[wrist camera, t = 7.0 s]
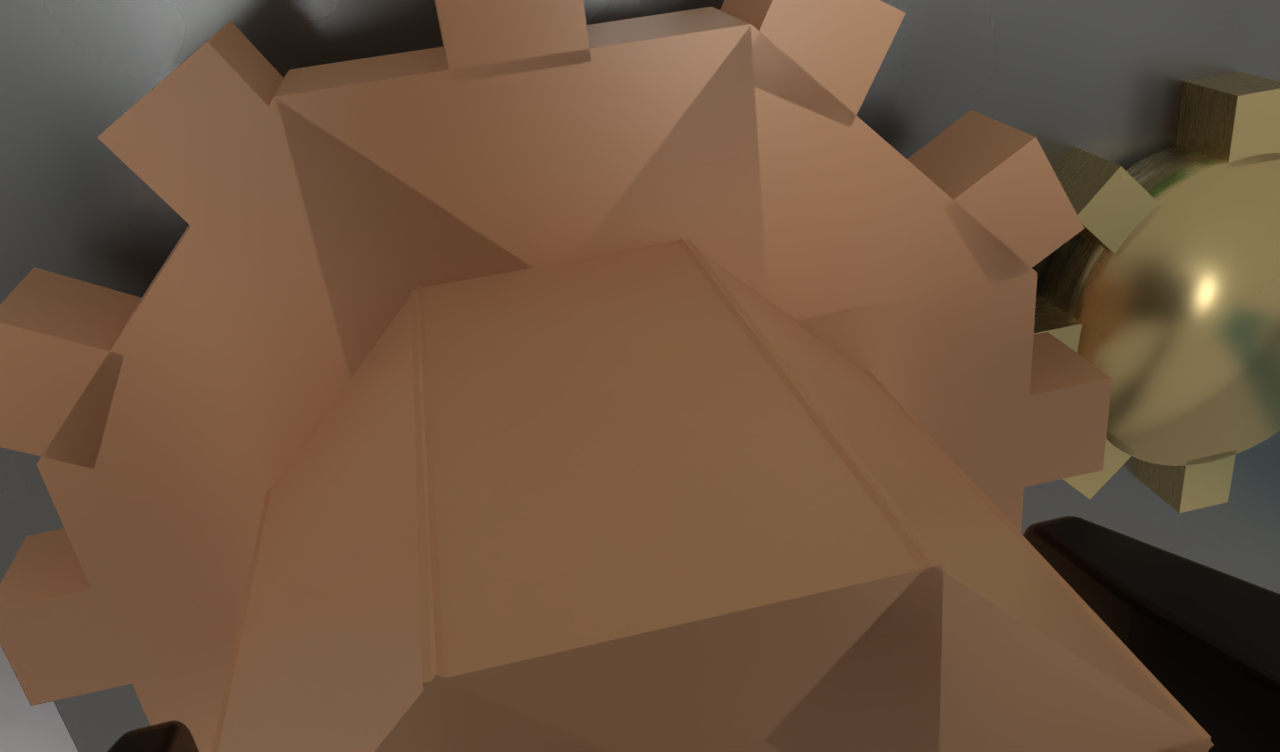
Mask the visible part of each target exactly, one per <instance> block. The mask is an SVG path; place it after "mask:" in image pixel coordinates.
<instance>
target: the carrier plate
mask: <svg viewBox="0 0 1280 752" xmlns="http://www.w3.org/2000/svg"><path fill="white" fill-rule="evenodd" d="M583 1H584V9H585V17H586V24H587V25H591V24H598V23H605V22H611V21H618V20H625V19H631V18H638V17H645V16H652V15H658V14H665V13H672V12H678V11H685V10H692V9H698V8H705V7H714V8H716V9H718V10H720V9H721V7H722V5H723V2H724V0H583ZM880 1H882V2H884V3H886V4H888V5H890V6H893V7H895V8H897V9H899V10H901V11H903V12H905V13H906V14H905V16H904V18H903V20H902V22H901V24H900V26H899V28H898V31H897V33H896V35H895V37H894V39H893V41H892V43H891V45H890V47H889V49H888V51H887V53H886V55H885V57H884V59H883V61H882V64H881V66H880V68H879V70H878V72H877V74H876V76H875V78H874V80H873V82H872V84H871V86H870V88H869V90H868V92H867V94H866V97H865V99H864V101H863V103H862V105H861V107H860V109H859V111H858V113H857V115H856V116H858V117H859V118H860V119H861V120H862V121H863V122H865V123H866V124H867V125H868V126H869V127H870V128H871V129H873V130H874V131H875V132H876V133H877V134H878V135H879V136H881V137H882V138H883V139H884V140H885V141H886V142H888V143H889V144H890V145H891V146H892V147H893V148H894V149H896V150H897V151H898V152H899V153H900V154H901V155H902V156H904V157H905V158H906V159H908V158H909V157H910V156H912V155H913V154H914V153H916V152H917V151H918V150H919V149H921V148H922V147H923V146H925V145H926V144H927V143H928V142H930V141H931V140H932V139H934V138H935V137H936V136H938V135H939V134H940V133H941V132H943V131H944V130H945V129H947V128H948V127H949V126H950V125H952V124H953V123H954V122H956V121H957V120H958V119H960V118H961V117H962V116H963V115H965V114H966V113H967V112H969V111H970V110H973V111H976V112H978V113H980V114H983V115H985V116H987V117H990V118H992V119H994V120H997V121H999V122H1002V123H1004V124H1006V125H1009V126H1011V127H1013V128H1016V129H1018V130H1020V131H1023V132H1025V133H1027V134H1030V135H1032V136H1035V137H1036V138H1037V140H1038V142H1039V144H1040V146H1041V148H1042V149H1043V151H1044V153H1045V155H1046V157H1047V159H1048V161H1049V163H1050V164H1051V166H1052V168H1053V170H1054V172H1055V174H1056V176H1057V178H1058V180H1059V181H1060V183H1061V185H1062V187H1063V189H1064V191H1065V193H1066V195H1067V196H1068V198H1069V200H1070V202H1071V204H1072V206H1073V208H1074V210H1075V212H1076V213H1077V215H1078V217H1079V219H1080V221H1081V223H1082V225H1083V227H1084V228H1085V229H1083V230H1082V231H1081V232H1079V233H1078V234H1077V235H1075V236H1074V237H1072V238H1071V239H1070V240H1068V241H1067V242H1066V243H1064V244H1063V245H1062V246H1060V247H1059V248H1058V249H1056V250H1055V251H1054V252H1052V253H1051V254H1050V255H1048V256H1047V257H1046V258H1044V259H1043V260H1042V261H1040V262H1039V263H1038V264H1036V265H1035V266H1034V267H1032V269H1034V270H1035V271H1036V272H1037V289H1036V305H1035V321H1034V335H1035V334H1040V333H1045V332H1049V333H1050V334H1051V335H1053V336H1054V337H1056V338H1057V339H1058V340H1060V341H1061V342H1063V343H1064V344H1065V345H1067V346H1068V347H1070V348H1071V349H1072V350H1074V351H1075V352H1077V353H1078V354H1079V355H1081V356H1082V357H1084V358H1085V359H1086V360H1088V361H1089V362H1091V363H1092V364H1093V365H1095V366H1096V367H1097V368H1099V369H1100V370H1102V371H1103V372H1104V373H1106V374H1107V375H1109V376H1110V377H1111V378H1112V386H1111V395H1110V405H1109V415H1108V425H1107V434H1106V444H1105V454H1104V464H1103V470H1101V471H1097V472H1092V473H1087V474H1083V475H1078V476H1074V477H1069V478H1065V479H1060V480H1056V481H1051V482H1047V483H1042V484H1037V485H1033V486H1028V487H1024V496H1023V512H1022V528H1021V534H1022V535H1023V534H1024V532H1025V530H1026V529H1027V527H1029V526H1030V525H1032V524H1034V523H1038V522H1042V521H1046V520H1051V519H1055V518H1060V517H1064V516H1076V517H1079V518H1082V519H1085V520H1088V521H1090V522H1093V523H1095V524H1098V525H1101V526H1103V527H1106V528H1108V529H1111V530H1114V531H1116V532H1119V533H1122V534H1124V535H1127V536H1129V537H1132V538H1135V539H1137V540H1140V541H1143V542H1145V543H1148V544H1150V545H1153V546H1156V547H1158V548H1161V549H1163V550H1166V551H1169V552H1171V553H1174V554H1177V555H1179V556H1182V557H1184V558H1187V559H1190V560H1192V561H1195V562H1197V563H1200V564H1203V565H1205V566H1208V567H1211V568H1213V569H1216V570H1218V571H1221V572H1224V573H1226V574H1229V575H1231V576H1234V577H1237V578H1239V579H1242V580H1245V581H1247V582H1250V583H1252V584H1255V585H1258V586H1260V587H1263V588H1266V589H1268V590H1271V591H1273V592H1276V593H1279V594H1280V0H880ZM230 21H232V23H233V24H234V25H235V26H236V27H237V28H238V29H239V30H240V31H241V32H242V33H243V34H244V36H245V37H246V38H247V39H248V40H249V41H250V42H251V43H252V44H253V45H254V46H255V47H256V49H257V50H258V51H259V52H260V53H261V54H262V55H263V56H264V57H265V58H266V59H267V61H268V62H269V63H270V64H271V65H272V66H273V67H274V68H275V69H276V70H277V71H278V72H279V74H280V75H281V76H282V77H283V78H284V77H285V75H286V74H287V72H288V71H289V70H290V69H296V68H303V67H310V66H316V65H323V64H330V63H337V62H343V61H350V60H357V59H363V58H370V57H377V56H383V55H390V54H397V53H404V52H410V51H417V50H424V49H430V48H437V47H443V42H442V37H441V32H440V27H439V21H438V16H437V11H436V6H435V0H0V304H1V303H2V302H3V301H4V300H5V299H6V298H7V296H8V295H9V294H10V293H11V292H12V291H13V290H14V289H15V288H16V287H17V286H18V284H19V283H20V282H21V281H22V280H23V279H24V278H25V277H26V276H27V275H28V273H29V272H30V271H31V270H32V269H33V268H34V267H36V268H39V269H43V270H46V271H50V272H53V273H57V274H60V275H64V276H67V277H71V278H74V279H78V280H81V281H85V282H88V283H92V284H95V285H99V286H102V287H106V288H109V289H113V290H116V291H120V292H123V293H127V294H130V295H133V296H137V297H140V298H142V297H143V295H144V293H145V292H146V290H147V289H148V287H149V286H150V284H151V283H152V281H153V280H154V278H155V276H156V275H157V273H158V272H159V270H160V269H161V267H162V266H163V264H164V263H165V261H166V259H167V258H168V256H169V255H170V253H171V252H172V250H173V249H174V247H175V245H176V244H177V242H178V241H179V239H180V238H181V236H182V235H183V233H184V232H185V230H186V228H187V227H188V225H189V224H188V223H187V222H186V221H185V220H184V219H183V218H182V217H181V216H180V215H179V214H177V213H176V212H175V211H174V210H173V209H172V208H171V207H170V206H169V205H168V204H167V203H166V202H165V201H164V200H163V199H162V198H161V197H160V196H158V195H157V194H156V193H155V192H154V191H153V190H152V189H151V188H150V187H149V186H148V185H147V184H146V183H145V182H144V181H143V180H142V179H141V178H139V177H138V176H137V175H136V174H135V173H134V172H133V171H132V170H131V169H130V168H129V167H128V166H127V165H126V164H125V163H124V162H123V161H122V160H120V159H119V158H118V157H117V156H116V155H115V154H114V153H113V152H112V151H111V150H110V149H109V148H108V147H107V146H106V145H105V144H104V143H103V142H101V141H100V140H99V139H98V138H97V137H98V136H99V135H101V134H102V133H103V132H104V131H105V130H106V129H107V128H108V127H110V126H111V125H112V124H113V123H114V122H115V121H116V120H117V119H118V118H120V117H121V116H122V115H123V114H124V113H125V112H126V111H127V110H128V109H130V108H131V107H132V106H133V105H134V104H135V103H136V102H138V101H139V100H140V99H141V98H142V97H143V96H144V95H146V94H147V93H148V92H149V91H150V90H151V89H152V88H154V87H155V86H156V85H157V84H158V83H159V82H161V81H162V80H163V79H164V78H165V77H166V76H167V75H169V74H170V73H171V72H172V71H173V70H174V69H176V68H177V67H178V66H179V65H180V64H181V63H182V62H184V61H185V60H186V59H187V58H188V57H189V56H191V55H192V54H193V53H194V52H195V51H196V50H197V49H199V48H200V47H201V46H202V45H203V44H204V43H206V42H207V41H208V40H209V39H210V38H211V37H212V36H214V35H215V34H216V33H217V32H218V31H219V30H221V29H222V28H223V27H224V26H225V25H226V24H227V23H229V22H230ZM40 458H41V456H36V455H32V454H28V453H23V452H19V451H15V450H11V449H6V448H2V447H0V583H1V582H2V580H3V578H4V576H5V574H6V573H7V571H8V569H9V567H10V565H11V564H12V562H13V560H14V558H15V556H16V555H17V553H18V551H19V549H20V547H21V546H22V544H23V542H24V540H25V538H26V537H27V536H28V535H33V534H38V533H43V532H48V531H53V530H58V529H63V528H64V526H63V524H62V522H61V519H60V517H59V515H58V513H57V510H56V508H55V506H54V503H53V501H52V499H51V497H50V494H49V492H48V490H47V487H46V485H45V483H44V481H43V478H42V476H41V474H40V471H39V469H38V467H37V463H38V461H39V460H40ZM54 703H55V705H56V707H57V710H58V712H59V714H60V716H61V718H62V720H63V722H64V724H65V726H66V728H67V730H68V732H69V734H70V736H71V738H72V740H73V742H74V744H75V746H76V748H77V750H78V752H107V751H108V750H109V749H110V747H111V746H112V745H113V744H114V743H115V742H116V741H117V740H118V739H119V738H120V737H121V736H122V735H123V734H125V733H126V732H128V731H131V730H133V729H137V728H141V727H146V726H150V723H149V721H148V719H147V716H146V714H145V712H144V710H143V707H142V705H141V703H140V700H139V698H138V696H137V693H136V691H135V689H134V687H133V684H128V685H123V686H119V687H114V688H110V689H105V690H101V691H96V692H92V693H87V694H82V695H78V696H73V697H69V698H64V699H60V700H55V701H54Z"/></svg>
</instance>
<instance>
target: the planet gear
mask: <svg viewBox="0 0 1280 752" xmlns="http://www.w3.org/2000/svg"><path fill="white" fill-rule="evenodd" d="M435 6H436V11H437V16H438V21H439V27H440V32H441V37H442V42H443V47H437V48H430V49H424V50H417V51H410V52H404V53H397V54H390V55H383V56H377V57H370V58H363V59H357V60H350V61H343V62H337V63H330V64H323V65H316V66H310V67H303V68H296V69H290V70H289V71H288V72H287V74H286V75H285V77H284V78H283V77H282V76H281V75H280V74H279V72H278V71H277V70H276V69H275V68H274V67H273V66H272V65H271V64H270V63H269V62H268V61H267V59H266V58H265V57H264V56H263V55H262V54H261V53H260V52H259V51H258V50H257V49H256V47H255V46H254V45H253V44H252V43H251V42H250V41H249V40H248V39H247V38H246V37H245V36H244V34H243V33H242V32H241V31H240V30H239V29H238V28H237V27H236V26H235V25H234V24H233V23H232V21H230V22H229V23H227V24H226V25H225V26H224V27H223V28H222V29H221V30H219V31H218V32H217V33H216V34H215V35H214V36H212V37H211V38H210V39H209V40H208V41H207V42H206V43H204V44H203V45H202V46H201V47H200V48H199V49H197V50H196V51H195V52H194V53H193V54H192V55H191V56H189V57H188V58H187V59H186V60H185V61H184V62H182V63H181V64H180V65H179V66H178V67H177V68H176V69H174V70H173V71H172V72H171V73H170V74H169V75H167V76H166V77H165V78H164V79H163V80H162V81H161V82H159V83H158V84H157V85H156V86H155V87H154V88H152V89H151V90H150V91H149V92H148V93H147V94H146V95H144V96H143V97H142V98H141V99H140V100H139V101H138V102H136V103H135V104H134V105H133V106H132V107H131V108H130V109H128V110H127V111H126V112H125V113H124V114H123V115H122V116H121V117H120V118H118V119H117V120H116V121H115V122H114V123H113V124H112V125H111V126H110V127H108V128H107V129H106V130H105V131H104V132H103V133H102V134H101V135H99V136H98V137H97V138H98V139H99V140H100V141H101V142H103V143H104V144H105V145H106V146H107V147H108V148H109V149H110V150H111V151H112V152H113V153H114V154H115V155H116V156H117V157H118V158H119V159H120V160H122V161H123V162H124V163H125V164H126V165H127V166H128V167H129V168H130V169H131V170H132V171H133V172H134V173H135V174H136V175H137V176H138V177H139V178H141V179H142V180H143V181H144V182H145V183H146V184H147V185H148V186H149V187H150V188H151V189H152V190H153V191H154V192H155V193H156V194H157V195H158V196H160V197H161V198H162V199H163V200H164V201H165V202H166V203H167V204H168V205H169V206H170V207H171V208H172V209H173V210H174V211H175V212H176V213H177V214H179V215H180V216H181V217H182V218H183V219H184V220H185V221H186V222H187V223H188V224H189V225H188V227H187V228H186V230H185V232H184V233H183V235H182V236H181V238H180V239H179V241H178V242H177V244H176V245H175V247H174V249H173V250H172V252H171V253H170V255H169V256H168V258H167V259H166V261H165V263H164V264H163V266H162V267H161V269H160V270H159V272H158V273H157V275H156V276H155V278H154V280H153V281H152V283H151V284H150V286H149V287H148V289H147V290H146V292H145V293H144V295H143V297H142V298H140V297H137V296H133V295H130V294H127V293H123V292H120V291H116V290H113V289H109V288H106V287H102V286H99V285H95V284H92V283H88V282H85V281H81V280H78V279H74V278H71V277H67V276H64V275H60V274H57V273H53V272H50V271H46V270H43V269H39V268H36V267H34V268H33V269H32V270H31V271H30V272H29V273H28V275H27V276H26V277H25V278H24V279H23V280H22V281H21V282H20V283H19V284H18V286H17V287H16V288H15V289H14V290H13V291H12V292H11V293H10V294H9V295H8V296H7V298H6V299H5V300H4V301H3V302H2V303H1V304H0V447H2V448H6V449H11V450H15V451H19V452H23V453H28V454H32V455H36V456H41V458H40V460H39V461H38V463H37V467H38V469H39V471H40V474H41V476H42V478H43V481H44V483H45V485H46V487H47V490H48V492H49V494H50V497H51V499H52V501H53V503H54V506H55V508H56V510H57V513H58V515H59V517H60V519H61V522H62V524H63V526H64V528H63V529H58V530H53V531H48V532H43V533H38V534H33V535H28V536H27V537H26V538H25V540H24V542H23V544H22V546H21V547H20V549H19V551H18V553H17V555H16V556H15V558H14V560H13V562H12V564H11V565H10V567H9V569H8V571H7V573H6V574H5V576H4V578H3V580H2V582H1V583H0V645H1V647H2V649H3V651H4V653H5V655H6V657H7V659H8V661H9V663H10V665H11V667H12V669H13V671H14V673H15V675H16V677H17V679H18V681H19V683H20V685H21V687H22V689H23V691H24V693H25V695H26V697H27V699H28V701H29V703H30V705H31V706H32V705H37V704H42V703H46V702H51V701H55V700H60V699H64V698H69V697H73V696H78V695H82V694H87V693H92V692H96V691H101V690H105V689H110V688H114V687H119V686H123V685H128V684H133V687H134V689H135V691H136V693H137V696H138V698H139V700H140V703H141V705H142V707H143V710H144V712H145V714H146V716H147V719H148V721H149V723H150V725H155V724H159V723H163V722H168V721H172V720H176V721H179V722H182V723H184V724H185V725H186V726H187V727H188V729H189V730H190V732H191V734H192V736H193V738H194V741H195V743H196V745H197V748H198V750H199V752H1208V751H1209V749H1210V748H1211V747H1212V746H1213V745H1214V744H1213V743H1212V742H1211V741H1210V740H1211V736H1210V735H1209V734H1208V733H1207V732H1206V731H1205V730H1204V729H1203V728H1202V727H1201V726H1200V725H1199V723H1198V722H1197V721H1196V720H1195V719H1194V718H1193V717H1192V716H1191V715H1190V714H1189V713H1188V712H1187V711H1186V710H1185V709H1184V707H1183V706H1182V705H1181V704H1180V703H1179V702H1178V701H1177V700H1176V699H1175V698H1174V697H1173V696H1172V695H1171V694H1170V692H1169V691H1168V690H1167V689H1166V688H1165V687H1164V686H1163V685H1162V684H1161V683H1160V682H1159V681H1158V680H1157V679H1156V677H1155V676H1154V675H1153V674H1152V673H1151V672H1150V671H1149V670H1148V669H1147V668H1146V667H1145V666H1144V665H1143V664H1142V662H1141V661H1140V660H1139V659H1138V658H1137V657H1136V656H1135V655H1134V654H1133V653H1132V652H1131V651H1130V650H1129V649H1128V647H1127V646H1126V645H1125V644H1124V643H1123V642H1122V641H1121V640H1120V639H1119V638H1118V637H1117V636H1116V635H1115V634H1114V632H1113V631H1112V630H1111V629H1110V628H1109V627H1108V626H1107V625H1106V624H1105V623H1104V622H1103V621H1102V620H1101V619H1100V617H1099V616H1098V615H1097V614H1096V613H1095V612H1094V611H1093V610H1092V609H1091V608H1090V607H1089V606H1088V605H1087V604H1086V602H1085V601H1084V600H1083V599H1082V598H1081V597H1080V596H1079V595H1078V594H1077V593H1076V592H1075V591H1074V590H1073V589H1072V587H1071V586H1070V585H1069V584H1068V583H1067V582H1066V581H1065V580H1064V579H1063V578H1062V577H1061V576H1060V575H1059V574H1058V572H1057V571H1056V570H1055V569H1054V568H1053V567H1052V566H1051V565H1050V564H1049V563H1048V562H1047V561H1046V560H1045V559H1044V558H1043V556H1042V555H1041V554H1040V553H1039V552H1038V551H1037V550H1036V549H1035V548H1034V547H1033V546H1032V545H1031V544H1030V543H1029V541H1028V540H1027V539H1026V538H1025V537H1024V536H1023V535H1022V534H1021V528H1022V512H1023V496H1024V487H1028V486H1033V485H1037V484H1042V483H1047V482H1051V481H1056V480H1060V479H1065V478H1069V477H1074V476H1078V475H1083V474H1087V473H1092V472H1097V471H1101V470H1103V464H1104V454H1105V444H1106V434H1107V425H1108V415H1109V405H1110V395H1111V386H1112V378H1111V377H1110V376H1109V375H1107V374H1106V373H1104V372H1103V371H1102V370H1100V369H1099V368H1097V367H1096V366H1095V365H1093V364H1092V363H1091V362H1089V361H1088V360H1086V359H1085V358H1084V357H1082V356H1081V355H1079V354H1078V353H1077V352H1075V351H1074V350H1072V349H1071V348H1070V347H1068V346H1067V345H1065V344H1064V343H1063V342H1061V341H1060V340H1058V339H1057V338H1056V337H1054V336H1053V335H1051V334H1050V333H1049V332H1045V333H1040V334H1035V335H1034V321H1035V305H1036V289H1037V272H1036V271H1035V270H1034V269H1032V267H1034V266H1035V265H1036V264H1038V263H1039V262H1040V261H1042V260H1043V259H1044V258H1046V257H1047V256H1048V255H1050V254H1051V253H1052V252H1054V251H1055V250H1056V249H1058V248H1059V247H1060V246H1062V245H1063V244H1064V243H1066V242H1067V241H1068V240H1070V239H1071V238H1072V237H1074V236H1075V235H1077V234H1078V233H1079V232H1081V231H1082V230H1083V229H1085V228H1084V227H1083V225H1082V223H1081V221H1080V219H1079V217H1078V215H1077V213H1076V212H1075V210H1074V208H1073V206H1072V204H1071V202H1070V200H1069V198H1068V196H1067V195H1066V193H1065V191H1064V189H1063V187H1062V185H1061V183H1060V181H1059V180H1058V178H1057V176H1056V174H1055V172H1054V170H1053V168H1052V166H1051V164H1050V163H1049V161H1048V159H1047V157H1046V155H1045V153H1044V151H1043V149H1042V148H1041V146H1040V144H1039V142H1038V140H1037V138H1036V137H1035V136H1032V135H1030V134H1027V133H1025V132H1023V131H1020V130H1018V129H1016V128H1013V127H1011V126H1009V125H1006V124H1004V123H1002V122H999V121H997V120H994V119H992V118H990V117H987V116H985V115H983V114H980V113H978V112H976V111H973V110H970V111H969V112H967V113H966V114H965V115H963V116H962V117H961V118H960V119H958V120H957V121H956V122H954V123H953V124H952V125H950V126H949V127H948V128H947V129H945V130H944V131H943V132H941V133H940V134H939V135H938V136H936V137H935V138H934V139H932V140H931V141H930V142H928V143H927V144H926V145H925V146H923V147H922V148H921V149H919V150H918V151H917V152H916V153H914V154H913V155H912V156H910V157H909V158H908V159H906V158H905V157H904V156H902V155H901V154H900V153H899V152H898V151H897V150H896V149H894V148H893V147H892V146H891V145H890V144H889V143H888V142H886V141H885V140H884V139H883V138H882V137H881V136H879V135H878V134H877V133H876V132H875V131H874V130H873V129H871V128H870V127H869V126H868V125H867V124H866V123H865V122H863V121H862V120H861V119H860V118H859V117H858V116H856V115H857V113H858V111H859V109H860V107H861V105H862V103H863V101H864V99H865V97H866V94H867V92H868V90H869V88H870V86H871V84H872V82H873V80H874V78H875V76H876V74H877V72H878V70H879V68H880V66H881V64H882V61H883V59H884V57H885V55H886V53H887V51H888V49H889V47H890V45H891V43H892V41H893V39H894V37H895V35H896V33H897V31H898V28H899V26H900V24H901V22H902V20H903V18H904V16H905V14H906V13H905V12H903V11H901V10H899V9H897V8H895V7H893V6H890V5H888V4H886V3H884V2H882V1H880V0H724V2H723V5H722V7H721V9H720V10H718V9H716V8H714V7H705V8H698V9H692V10H685V11H678V12H672V13H665V14H658V15H652V16H645V17H638V18H631V19H625V20H618V21H611V22H605V23H598V24H591V25H587V24H586V17H585V9H584V1H583V0H435Z"/></svg>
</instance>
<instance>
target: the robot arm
mask: <svg viewBox="0 0 1280 752" xmlns="http://www.w3.org/2000/svg"><path fill="white" fill-rule="evenodd" d="M1023 536H1024V537H1025V538H1026V539H1027V540H1028V541H1029V543H1030V544H1031V545H1032V546H1033V547H1034V548H1035V549H1036V550H1037V551H1038V552H1039V553H1040V554H1041V555H1042V556H1043V558H1044V559H1045V560H1046V561H1047V562H1048V563H1049V564H1050V565H1051V566H1052V567H1053V568H1054V569H1055V570H1056V571H1057V572H1058V574H1059V575H1060V576H1061V577H1062V578H1063V579H1064V580H1065V581H1066V582H1067V583H1068V584H1069V585H1070V586H1071V587H1072V589H1073V590H1074V591H1075V592H1076V593H1077V594H1078V595H1079V596H1080V597H1081V598H1082V599H1083V600H1084V601H1085V602H1086V604H1087V605H1088V606H1089V607H1090V608H1091V609H1092V610H1093V611H1094V612H1095V613H1096V614H1097V615H1098V616H1099V617H1100V619H1101V620H1102V621H1103V622H1104V623H1105V624H1106V625H1107V626H1108V627H1109V628H1110V629H1111V630H1112V631H1113V632H1114V634H1115V635H1116V636H1117V637H1118V638H1119V639H1120V640H1121V641H1122V642H1123V643H1124V644H1125V645H1126V646H1127V647H1128V649H1129V650H1130V651H1131V652H1132V653H1133V654H1134V655H1135V656H1136V657H1137V658H1138V659H1139V660H1140V661H1141V662H1142V664H1143V665H1144V666H1145V667H1146V668H1147V669H1148V670H1149V671H1150V672H1151V673H1152V674H1153V675H1154V676H1155V677H1156V679H1157V680H1158V681H1159V682H1160V683H1161V684H1162V685H1163V686H1164V687H1165V688H1166V689H1167V690H1168V691H1169V692H1170V694H1171V695H1172V696H1173V697H1174V698H1175V699H1176V700H1177V701H1178V702H1179V703H1180V704H1181V705H1182V706H1183V707H1184V709H1185V710H1186V711H1187V712H1188V713H1189V714H1190V715H1191V716H1192V717H1193V718H1194V719H1195V720H1196V721H1197V722H1198V723H1199V725H1200V726H1201V727H1202V728H1203V729H1204V730H1205V731H1206V732H1207V733H1208V734H1209V735H1210V736H1211V740H1210V741H1211V742H1212V743H1213V744H1214V745H1213V746H1212V747H1211V748H1210V749H1209V751H1208V752H1280V594H1279V593H1276V592H1273V591H1271V590H1268V589H1266V588H1263V587H1260V586H1258V585H1255V584H1252V583H1250V582H1247V581H1245V580H1242V579H1239V578H1237V577H1234V576H1231V575H1229V574H1226V573H1224V572H1221V571H1218V570H1216V569H1213V568H1211V567H1208V566H1205V565H1203V564H1200V563H1197V562H1195V561H1192V560H1190V559H1187V558H1184V557H1182V556H1179V555H1177V554H1174V553H1171V552H1169V551H1166V550H1163V549H1161V548H1158V547H1156V546H1153V545H1150V544H1148V543H1145V542H1143V541H1140V540H1137V539H1135V538H1132V537H1129V536H1127V535H1124V534H1122V533H1119V532H1116V531H1114V530H1111V529H1108V528H1106V527H1103V526H1101V525H1098V524H1095V523H1093V522H1090V521H1088V520H1085V519H1082V518H1079V517H1076V516H1064V517H1060V518H1055V519H1051V520H1046V521H1042V522H1038V523H1034V524H1032V525H1030V526H1029V527H1027V529H1026V530H1025V532H1024V534H1023ZM107 752H199V750H198V748H197V745H196V743H195V741H194V738H193V736H192V734H191V732H190V730H189V729H188V727H187V726H186V725H185V724H184V723H182V722H179V721H176V720H172V721H168V722H163V723H159V724H155V725H150V726H146V727H141V728H137V729H133V730H131V731H128V732H126V733H125V734H123V735H122V736H121V737H120V738H119V739H118V740H117V741H116V742H115V743H114V744H113V745H112V746H111V747H110V749H109V750H108V751H107Z"/></svg>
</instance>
